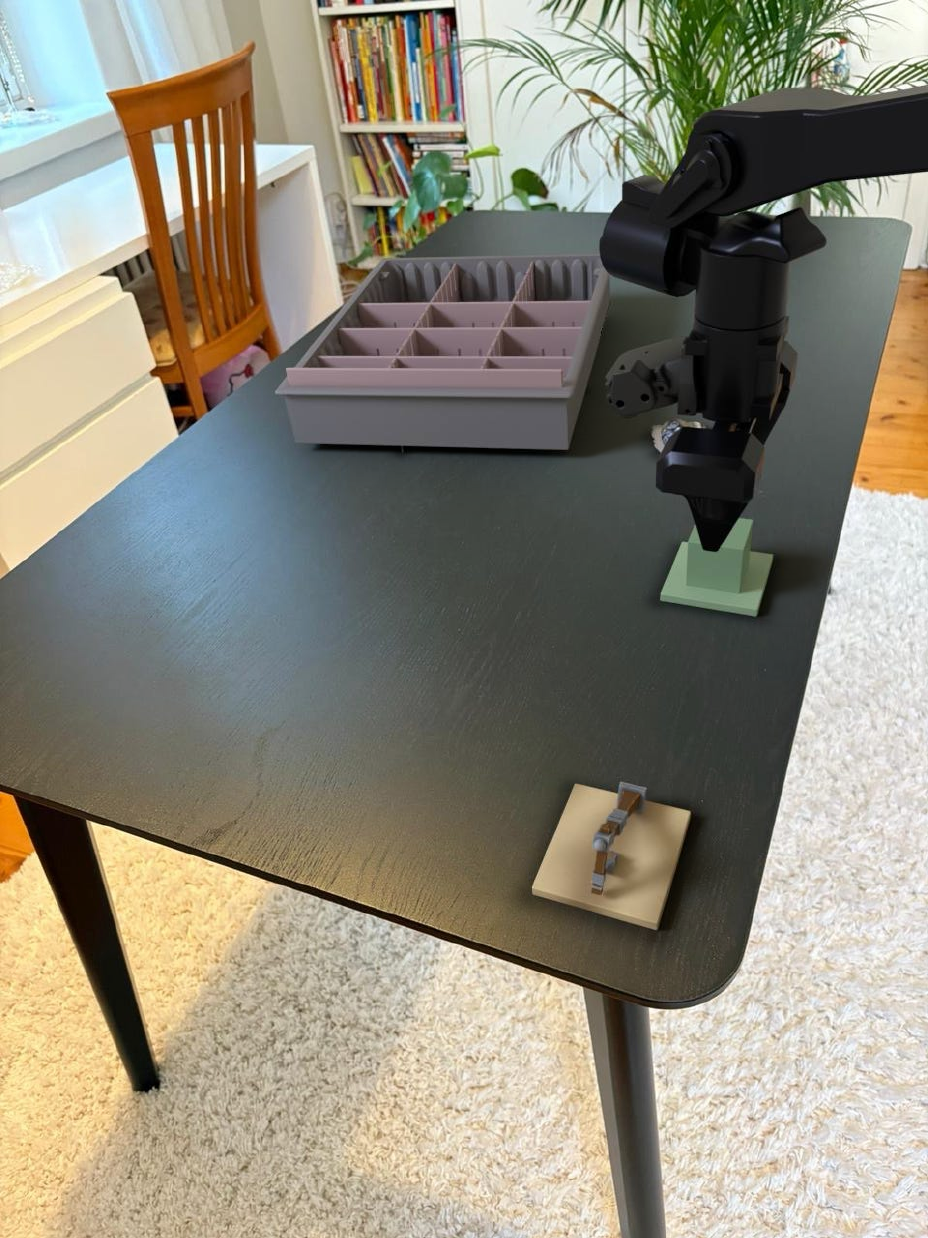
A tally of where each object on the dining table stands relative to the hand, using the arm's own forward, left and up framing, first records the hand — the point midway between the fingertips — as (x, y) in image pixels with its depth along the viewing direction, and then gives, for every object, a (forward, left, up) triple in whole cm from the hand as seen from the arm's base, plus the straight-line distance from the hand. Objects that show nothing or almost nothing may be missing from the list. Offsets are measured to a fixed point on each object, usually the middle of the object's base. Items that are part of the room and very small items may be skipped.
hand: (723, 515), depth 73 cm
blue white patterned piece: (+9, -29, -11) cm, 32 cm away
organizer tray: (+38, -39, -11) cm, 55 cm away
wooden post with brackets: (+1, +24, -10) cm, 26 cm away
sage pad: (+1, -6, -11) cm, 12 cm away
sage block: (+1, -6, -10) cm, 12 cm away
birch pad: (+2, +24, -11) cm, 27 cm away
